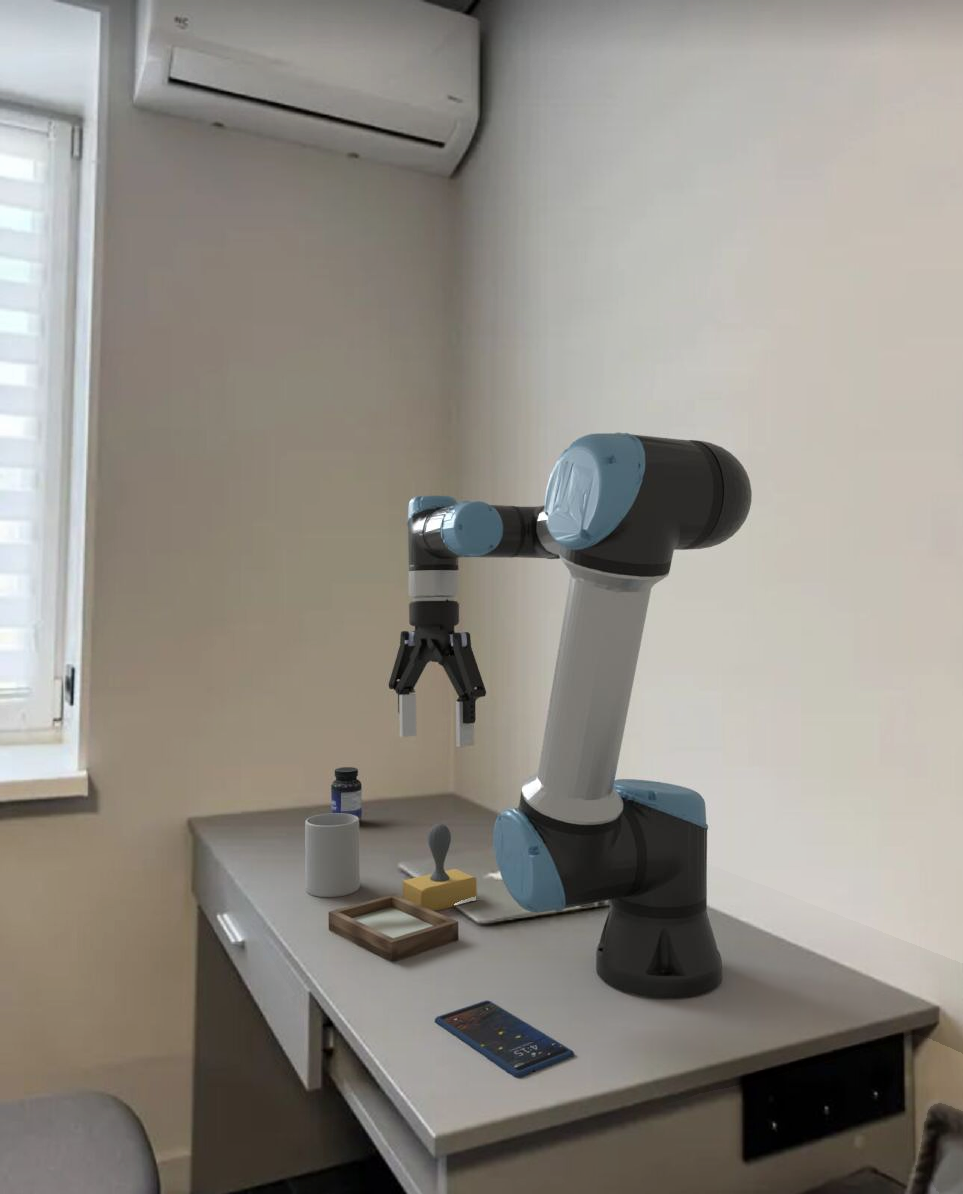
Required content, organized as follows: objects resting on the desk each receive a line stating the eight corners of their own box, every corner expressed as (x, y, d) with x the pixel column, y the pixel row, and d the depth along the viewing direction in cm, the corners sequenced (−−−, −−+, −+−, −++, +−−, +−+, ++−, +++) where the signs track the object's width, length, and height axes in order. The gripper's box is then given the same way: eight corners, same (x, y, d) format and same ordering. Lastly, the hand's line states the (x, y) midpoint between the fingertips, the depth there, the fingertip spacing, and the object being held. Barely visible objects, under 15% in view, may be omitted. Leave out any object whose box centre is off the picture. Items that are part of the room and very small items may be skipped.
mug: (364, 893, 143) (364, 823, 143) (309, 900, 140) (309, 828, 140) (349, 871, 154) (349, 806, 154) (298, 877, 151) (298, 810, 151)
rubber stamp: (422, 915, 133) (421, 833, 133) (401, 904, 138) (401, 824, 138) (477, 901, 139) (477, 822, 139) (456, 891, 144) (456, 815, 144)
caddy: (458, 940, 124) (458, 921, 124) (391, 962, 116) (391, 942, 116) (393, 911, 135) (393, 894, 135) (328, 929, 128) (328, 911, 128)
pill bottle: (329, 821, 188) (328, 767, 188) (359, 818, 190) (358, 765, 190) (333, 828, 182) (333, 772, 182) (364, 825, 184) (363, 770, 184)
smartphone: (488, 998, 105) (576, 1051, 93) (488, 1005, 105) (576, 1059, 93) (432, 1016, 101) (517, 1074, 88) (432, 1024, 101) (517, 1083, 88)
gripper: (509, 598, 132) (510, 747, 132) (403, 600, 150) (405, 730, 150) (469, 599, 127) (471, 753, 127) (365, 600, 145) (367, 734, 145)
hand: (435, 741), depth 138 cm, fingers open, 13 cm apart
